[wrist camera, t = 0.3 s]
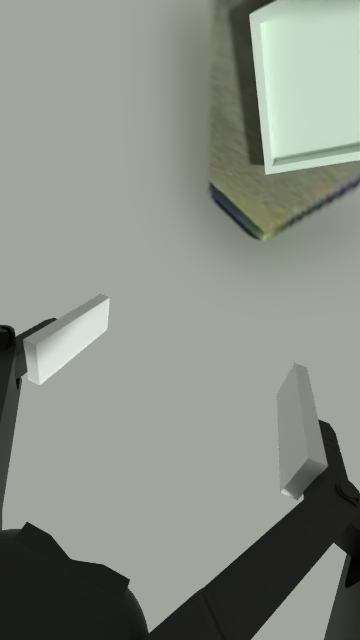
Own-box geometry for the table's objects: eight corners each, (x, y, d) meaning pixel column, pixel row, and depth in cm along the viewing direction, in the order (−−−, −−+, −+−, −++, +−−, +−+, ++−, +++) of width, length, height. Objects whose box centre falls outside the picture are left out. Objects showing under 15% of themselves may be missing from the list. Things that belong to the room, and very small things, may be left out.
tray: (256, 9, 27) (249, 14, 26) (437, -84, 19) (438, -82, 18) (270, 166, 38) (265, 174, 37) (387, 145, 31) (386, 155, 30)
